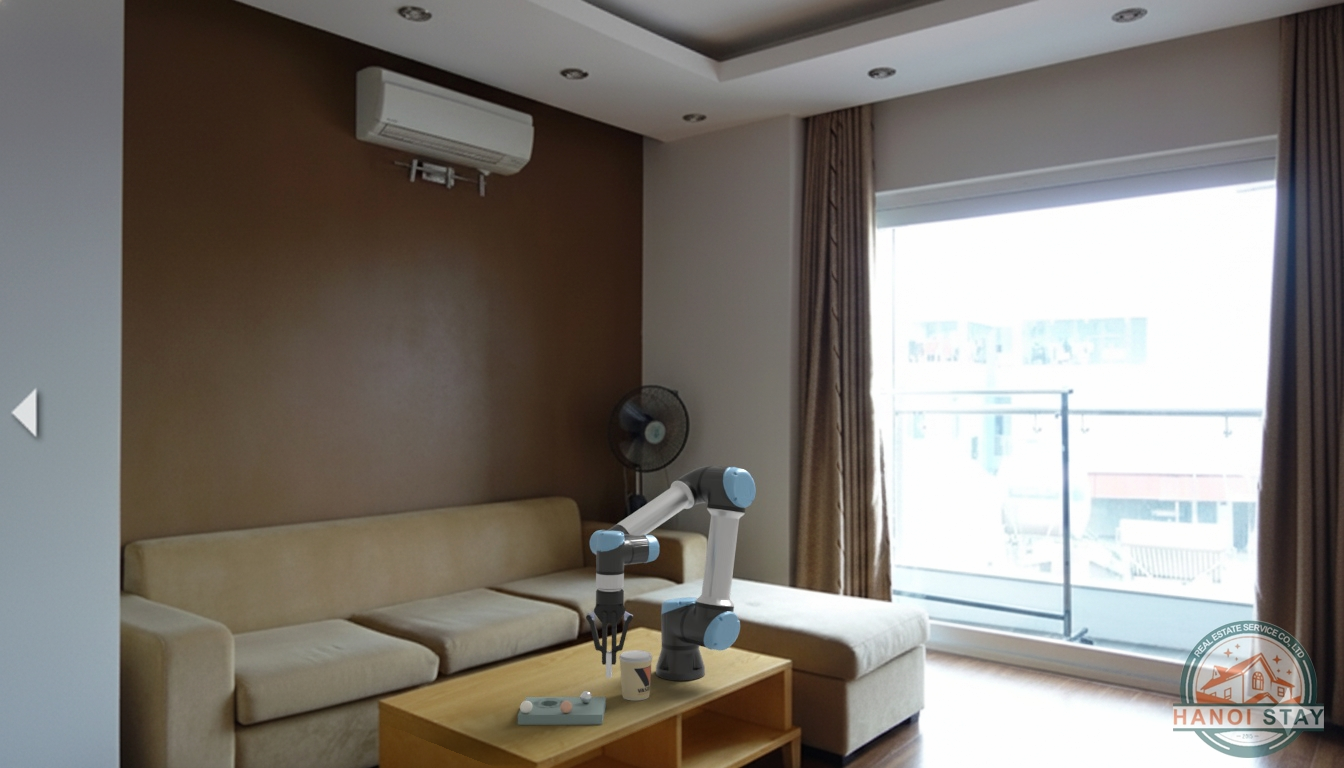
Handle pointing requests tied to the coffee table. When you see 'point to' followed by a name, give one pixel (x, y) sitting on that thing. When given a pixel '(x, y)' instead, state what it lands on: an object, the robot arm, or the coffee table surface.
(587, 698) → the steel ball
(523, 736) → the coffee table surface
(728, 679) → the coffee table surface
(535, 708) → the board
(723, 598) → the robot arm
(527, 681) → the coffee table surface
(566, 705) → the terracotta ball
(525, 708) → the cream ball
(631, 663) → the coffee cup
